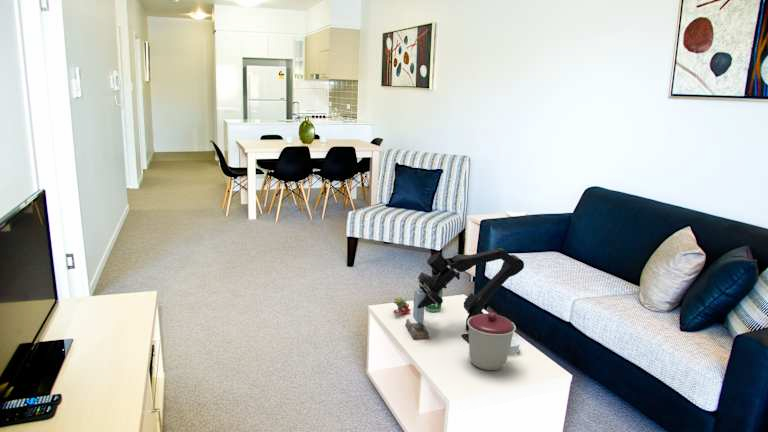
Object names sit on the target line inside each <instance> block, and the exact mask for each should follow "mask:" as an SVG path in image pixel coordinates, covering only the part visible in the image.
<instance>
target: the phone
mask: <svg viewBox="0 0 768 432" xmlns="http://www.w3.org/2000/svg"><path fill="white" fill-rule="evenodd" d="M460 337H461V338H462V339H463V340H464V341H465V342H466V343H467V344H468V345H469V332H467V333H462V334H461V335H460Z"/></svg>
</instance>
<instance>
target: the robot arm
mask: <svg viewBox="0 0 768 432" xmlns="http://www.w3.org/2000/svg"><path fill="white" fill-rule="evenodd" d="M497 260H501V261H503V263H502V265H501V268H500V270H499V271H498V272H497V273H496V274H495V275H494V276H493V277H492V278H491V279H490V280H489V281H488V282H487V283H485V285H484V286H483V287H482V288H481V289H480V290H479V292H478V293H475V294H474V293H473V292H470V294H469V295H468V296H467V297H466V298H464V301H463V308H464V309H465V311H466V313H467V314H468V315H467V317H466V321H465V331H466V332H469V326H468V324H467V320H468V319H469V318H470V317H472V316H475V315H477V314H485V313H484V312H483V310H484V308H485V306H486V303H487V301H488V300H489V299H490V298H491V297H492V296H493V295H494V293H495V292H496V291H497V290H498V289H499V288H500V287H502V285H504V283H505V282H506V281H507V280H508V279H509V278H511V277H514V276H516V275H518V274H519V273H521V271H523V270H524V267H525V262H524V260H522V259H521V258H519V257H518V256H516V255H514V254H509V253H508V252H507V251H506V250H504V249H503V248H501V247H497V248H495V249H490V250H487V251H482V252H477V253H474V254H455V255H453V256H452V257H448V258H447V257H446V258H445V257H444V256H443V255H442V253H441V252H440V251H438V252H437V253H435V254H433V255H431V256H429V258H428V259H427V260H426V263H427V265H428V266H429V267H430V268H431V269H432V270H433V271H434V272H435V273H437V275H436V274H433V275H430V274H427V273H425V272H423V271H420V273H419V275H418V278H417V280H418V283H419V285H418V286H419V287H418V288H419V289H422V290H423V292H424V293H425V298H424V299H423V300H422V301H421V302H420V304H419V305H418V306H417V307H418V308H419V309H420V308H423V307H424V308H425V307H426V306H429V305H432V304H438V305H441V306H442V303H443V301H444V299H443V297H442V298H441V297H440V296H439V295H440V294H439V292H440V291H441V290H442V289H445V290H446V289H447V288H448V287H447V285H449V284H450V283H451V282H452V281H453V280H454V279H455V278H456V279H457V280H458V281H459V280H460V279H461V276H460V275H461V273H464V272H466V271H468V270H470V269H471V268H473V267H475V266H478V265H481V264H485V263H490V262H493V261H497ZM428 292H429V293H428ZM413 302H414V299H413Z"/></svg>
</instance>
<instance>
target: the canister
mask: <svg viewBox="0 0 768 432" xmlns="http://www.w3.org/2000/svg"><path fill="white" fill-rule="evenodd" d="M467 324H468V326H469V331H468V333H469V344H468V353H469V358H470V362H471V363H472V364H473V365H474V366H475V367H476V368H478V369H481V370H485V371H498V370H500V369H502V368H503V367H504V366H505V365H506V363H507V359H508V357H509V355H508V353H509V349H510V345H511V341H512V338H513V336H514V333H515V331H516V330H517V327H516V325H515V323H514V322H513V321H511V319H509V318H507V317H505V316H503V315H498V314H497V313H496V312H494V311H490V312H487V313H484V314H477V315H475V316H472V317H470V318H469V319H468V320H467Z"/></svg>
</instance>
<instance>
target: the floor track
mask: <svg viewBox="0 0 768 432" xmlns="http://www.w3.org/2000/svg"><path fill="white" fill-rule="evenodd" d="M405 322H406V323H405V328H406V330H407V331H408V333H409V334H410V336H411V339H412V340H413V341H421V340H424V341H425V340H430V339H431V337H430V332H429V329H427V327H426V326H425V324H424V322H411V321H410V319H409V318H408V319H406V321H405Z"/></svg>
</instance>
